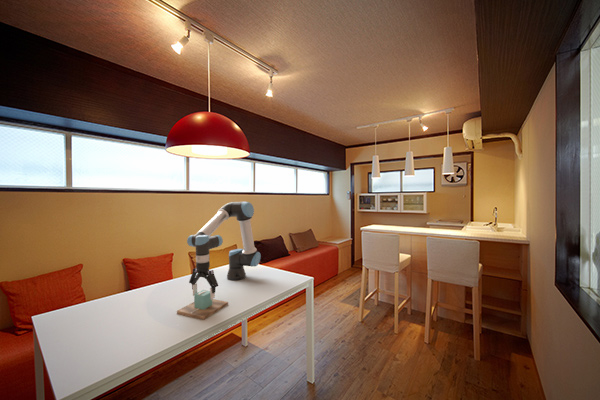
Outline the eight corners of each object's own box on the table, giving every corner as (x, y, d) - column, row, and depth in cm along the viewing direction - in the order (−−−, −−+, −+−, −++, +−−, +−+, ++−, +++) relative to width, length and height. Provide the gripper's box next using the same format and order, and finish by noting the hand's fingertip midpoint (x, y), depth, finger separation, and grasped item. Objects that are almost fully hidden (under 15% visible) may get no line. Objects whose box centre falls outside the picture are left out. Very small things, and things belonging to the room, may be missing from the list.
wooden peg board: (203, 299, 155) (203, 288, 155) (228, 304, 148) (227, 293, 148) (176, 313, 137) (176, 301, 137) (203, 319, 129) (203, 307, 129)
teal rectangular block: (203, 302, 147) (203, 288, 147) (212, 304, 144) (212, 290, 144) (194, 307, 140) (194, 293, 140) (203, 309, 138) (203, 294, 138)
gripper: (182, 261, 143) (183, 295, 144) (214, 265, 134) (215, 302, 134) (192, 257, 150) (193, 291, 151) (223, 261, 141) (224, 297, 141)
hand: (203, 296), depth 142 cm, fingers open, 13 cm apart
